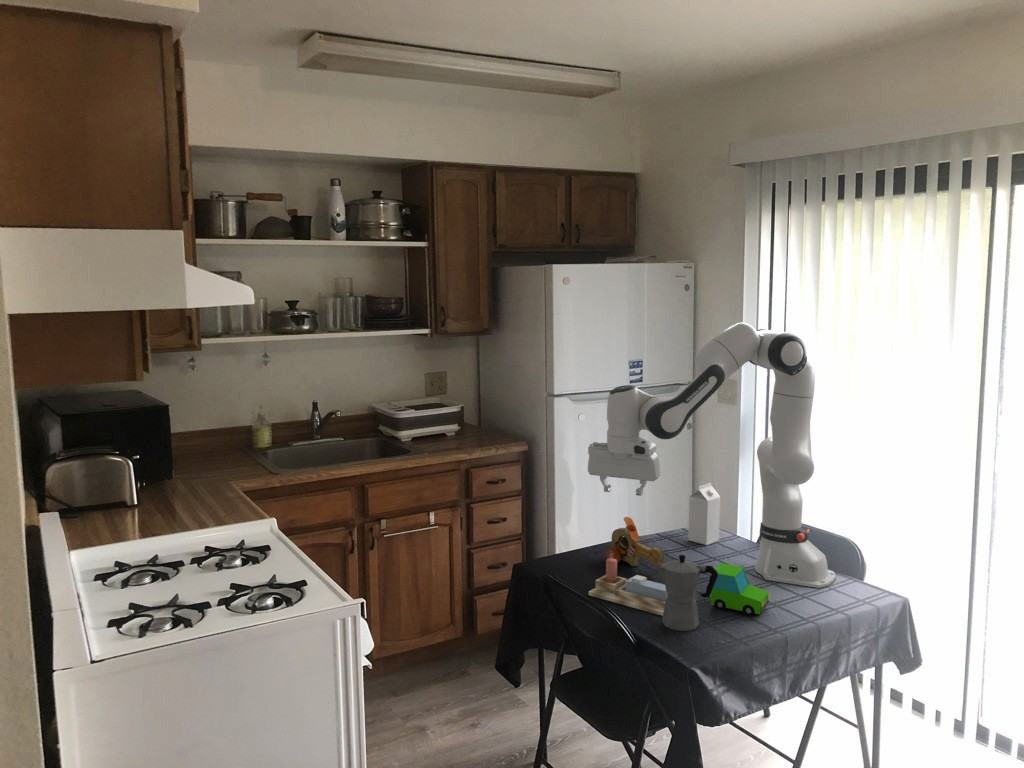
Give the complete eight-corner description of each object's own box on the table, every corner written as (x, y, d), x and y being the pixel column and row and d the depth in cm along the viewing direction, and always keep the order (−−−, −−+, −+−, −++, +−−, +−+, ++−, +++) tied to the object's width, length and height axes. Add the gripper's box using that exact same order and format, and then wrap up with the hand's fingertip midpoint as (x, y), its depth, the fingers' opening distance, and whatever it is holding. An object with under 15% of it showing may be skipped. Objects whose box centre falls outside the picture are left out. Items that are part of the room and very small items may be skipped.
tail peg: (618, 587, 234) (618, 559, 233) (614, 590, 232) (614, 563, 230) (608, 585, 236) (608, 557, 234) (604, 588, 233) (604, 561, 232)
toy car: (759, 620, 214) (761, 583, 213) (709, 609, 221) (710, 573, 220) (770, 607, 223) (772, 570, 222) (721, 597, 230) (722, 561, 229)
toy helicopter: (623, 555, 263) (623, 512, 262) (672, 574, 247) (673, 529, 245) (603, 560, 259) (604, 517, 257) (652, 580, 242) (653, 534, 240)
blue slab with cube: (672, 601, 224) (672, 583, 224) (665, 605, 221) (665, 587, 221) (632, 590, 232) (633, 573, 231) (625, 594, 229) (625, 577, 228)
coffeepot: (653, 629, 209) (655, 559, 207) (654, 614, 218) (655, 547, 216) (717, 634, 207) (719, 563, 204) (715, 618, 216) (717, 550, 213)
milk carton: (688, 540, 277) (689, 484, 274) (700, 536, 282) (702, 480, 279) (706, 545, 272) (708, 488, 269) (719, 541, 277) (720, 484, 274)
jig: (685, 601, 227) (685, 589, 226) (663, 616, 217) (663, 603, 217) (611, 582, 241) (611, 570, 240) (588, 595, 231) (588, 582, 231)
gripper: (583, 443, 235) (584, 492, 237) (654, 449, 225) (654, 500, 227) (592, 439, 240) (592, 486, 242) (662, 445, 231) (661, 494, 233)
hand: (623, 493), depth 234 cm, fingers open, 8 cm apart
